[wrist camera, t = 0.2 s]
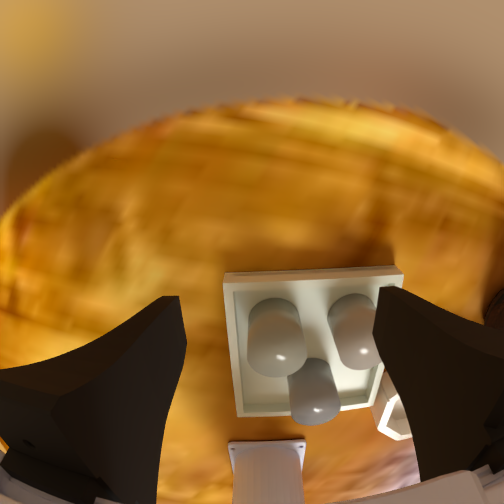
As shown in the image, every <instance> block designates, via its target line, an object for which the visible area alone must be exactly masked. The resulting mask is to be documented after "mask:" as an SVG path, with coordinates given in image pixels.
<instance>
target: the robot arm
mask: <svg viewBox="0 0 504 504" xmlns="http://www.w3.org/2000/svg"><path fill="white" fill-rule="evenodd" d="M372 335H373V338H374V341H375V345H376V348H377V351H378V353H379V356H380V358H381V360H382V362H383V364H384V366H385V368H386V371H387V373H388V375H389V377H390V379H391V381H392V383H393V385H394V387H395V389H396V391H397V393H398V395H399V397H400V400H401V402H402V404H403V407H404V410H405V413H406V416H407V420H408V423H409V426H410V430H411V434H412V438H413V442H414V446H415V450H416V456H417V461H418V467H419V473H420V481H421V483H417V484H414V485H411V486H407V487H404V488H400V489H397V490H393V491H389V492H385V493H381V494H377V495H372V496H368V497H363V498H358V499H352V500H347V501H341V502H334V503H327V504H504V331H503V330H499V329H495V328H491V327H488V326H484V325H481V324H478V323H476V322H473V321H470V320H467V319H465V318H462V317H460V316H457V315H455V314H453V313H451V312H449V311H446V310H444V309H442V308H440V307H438V306H436V305H434V304H432V303H430V302H428V301H426V300H424V299H422V298H420V297H418V296H416V295H414V294H412V293H410V292H408V291H406V290H404V289H402V288H399V287H397V286H385V287H379V294H378V301H377V307H376V314H375V320H374V325H373V331H372ZM186 347H187V339H186V334H185V329H184V323H183V318H182V312H181V306H180V300H179V296H162V297H160V298H158V299H157V300H155V301H154V302H152V303H151V304H149V305H148V306H147V307H145V308H144V309H142V310H141V311H140V312H138V313H137V314H135V315H134V316H133V317H131V318H130V319H128V320H127V321H125V322H124V323H122V324H121V325H119V326H118V327H116V328H114V329H113V330H111V331H110V332H108V333H107V334H105V335H103V336H101V337H100V338H98V339H96V340H94V341H92V342H90V343H88V344H86V345H84V346H82V347H79V348H77V349H75V350H72V351H70V352H67V353H65V354H62V355H60V356H57V357H54V358H51V359H48V360H44V361H41V362H37V363H33V364H29V365H24V366H19V367H13V368H7V369H0V436H1V438H2V439H3V440H4V441H5V443H6V444H7V445H8V446H9V449H8V451H7V453H6V454H5V453H4V452H2V451H1V450H0V504H156V497H157V483H158V472H159V463H160V455H161V448H162V441H163V435H164V429H165V424H166V419H167V415H168V412H169V409H170V405H171V402H172V399H173V396H174V393H175V390H176V387H177V384H178V381H179V377H180V374H181V371H182V368H183V364H184V359H185V353H186ZM305 448H306V440H304V439H298V440H283V441H258V442H229V443H228V450H229V455H230V460H231V464H232V469H233V474H234V480H233V498H232V504H305V501H304V491H303V482H302V467H303V461H304V454H305Z"/></svg>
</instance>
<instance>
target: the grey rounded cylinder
mask: <svg viewBox="0 0 504 504" xmlns="http://www.w3.org/2000/svg"><path fill="white" fill-rule="evenodd" d="M287 382H288V391H289V400H290V409H291V416H292V418H293V420H294V421H296V422H297V423H299V424H302V425H319V424H323V423H326V422H328V421H330V420H331V419H333V418H334V417H335V416H336V415H337V414H338V413H339V411H340V409H341V403H340V399H339V395H338V392H337V388H336V385H335V381H334V378H333V374H332V371H331V367H330V365H329V364H328V363H327V362H326V361H325V360H323V359H320V358H307V359H306V361H305V363H304V364H303V366H302V367H301V368H300V369H299V370H298V371H296V372H295V373H293V374H290V375H288V376H287Z"/></svg>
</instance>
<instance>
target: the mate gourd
mask: <svg viewBox="0 0 504 504" xmlns="http://www.w3.org/2000/svg"><path fill="white" fill-rule="evenodd" d="M484 326H488V327H491V328H495V329H499V330H503V331H504V289H503V290H502V291H500V292H499V293H498V294H497V295H496V297H495V298H494V300H493V301H492V303H491V304H490V306H489V309H488V312H487V314H486V318H485V323H484Z"/></svg>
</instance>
